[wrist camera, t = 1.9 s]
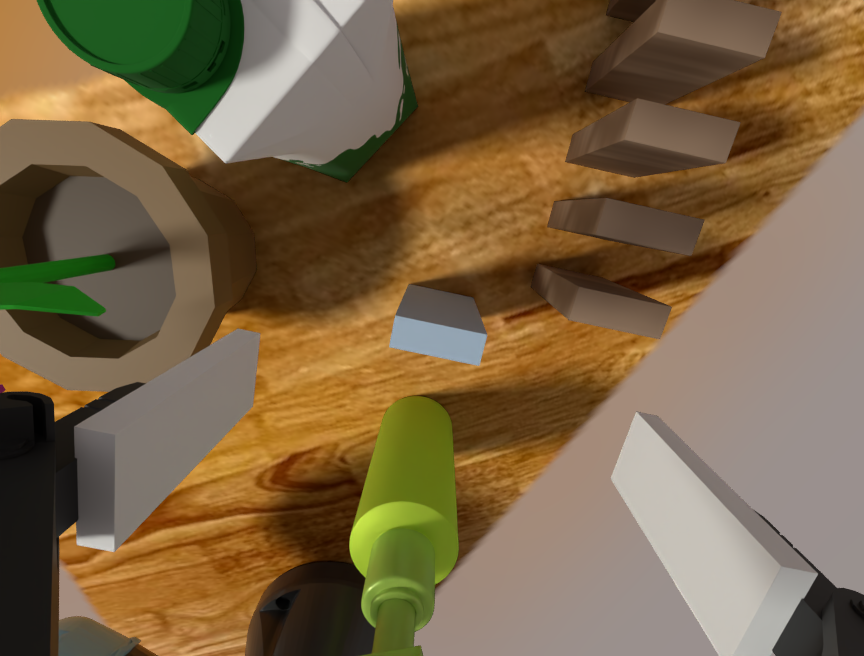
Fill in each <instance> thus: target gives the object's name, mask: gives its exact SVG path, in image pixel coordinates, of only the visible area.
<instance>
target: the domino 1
mask: <svg viewBox="0 0 864 656" xmlns="http://www.w3.org/2000/svg"><path fill="white" fill-rule="evenodd" d="M486 338H487V333H486V330H485V327H484V325H483V322H482V319H481V317H480V314H479V311H478V309H477V306H476V303H475V301H474V298H473V297H468V296H463V295H459V294H454V293H449V292H444V291H440V290H435V289H430V288H426V287H421V286H416V285H412V284H409V285H408V287H407V289H406V292H405V294H404V296H403V299H402V301H401V303H400V306H399V308H398V310H397V313H396V315H395V320H394V325H393V330H392V335H391V340H390V345H389V347H391V348H396V349H401V350H406V351H410V352H415V353H420V354H425V355H430V356H435V357H439V358H444V359H449V360H454V361H459V362H464V363H468V364H473V365H478V366H479V365H480V361H481V357H482V353H483V349H484V345H485V342H486Z"/></svg>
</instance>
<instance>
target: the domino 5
mask: <svg viewBox="0 0 864 656" xmlns="http://www.w3.org/2000/svg"><path fill="white" fill-rule="evenodd" d="M531 288H532V289H533V290H535V291H536V292H537V293H538V294H539V295H540V296H542V297H543V298H544V299H545V300H546V301H547V302H549V303H550V304H551V305H552V306H553V307H554V308H556V309H557V310H558V311H559V312H560V313H561V314H563V315H564V316H565V317H566V318H567V319H568V320H571V321H576V322H581V323H585V324H590V325H595V326H599V327H604V328H609V329H614V330H618V331H623V332H628V333H632V334H637V335H642V336H646V337H651V338H656V339H660V338H661V335H662V332H663V330H664V327H665V324H666V322H667V319H668V316H669V314H670V311H671V308H672V307H671V306H668V305H666V304H664V303H661V302H659V301H657V300H654V299H652V298H649V297H647V296H645V295H642V294H640V293H638V292H635V291H633V290H630V289H628V288H626V287H623V286H621V285H619V284H616V283H614V282H611V281H609V280H607V279H604V278H602V277H597V276H593V275H588V274H583V273H579V272H574V271H570V270H565V269H560V268H556V267H551V266H546V265H542V264H537V266H536V269H535V273H534V276H533V280H532V284H531Z"/></svg>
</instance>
